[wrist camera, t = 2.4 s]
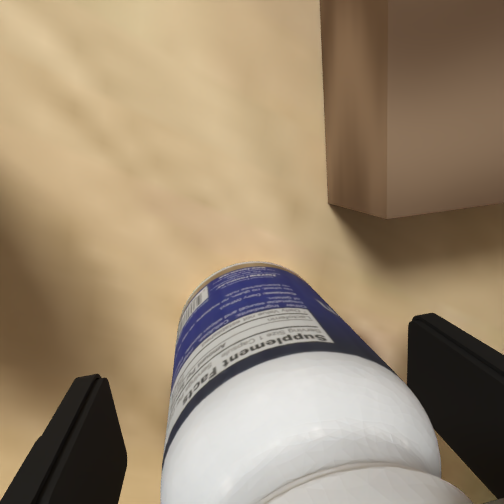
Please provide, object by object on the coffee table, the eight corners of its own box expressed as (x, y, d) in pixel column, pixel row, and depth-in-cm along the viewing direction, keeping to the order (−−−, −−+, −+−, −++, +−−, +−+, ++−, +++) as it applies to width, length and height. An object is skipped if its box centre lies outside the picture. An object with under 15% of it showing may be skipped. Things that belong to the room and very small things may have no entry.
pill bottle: (331, 356, 14) (603, 740, 5) (207, 405, 14) (230, 932, 4) (297, 235, 13) (609, 450, 3) (155, 286, 12) (5, 716, 3)
